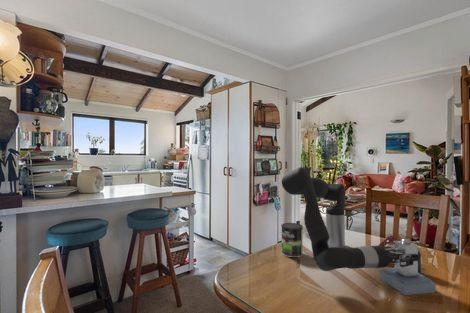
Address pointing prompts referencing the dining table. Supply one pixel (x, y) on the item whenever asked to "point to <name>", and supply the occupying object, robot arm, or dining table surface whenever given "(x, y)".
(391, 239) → the brake caliper
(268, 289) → the dining table surface
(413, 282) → the stand
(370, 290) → the dining table surface
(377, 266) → the robot arm
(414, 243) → the supplement bottle
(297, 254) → the coffee can
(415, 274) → the block
